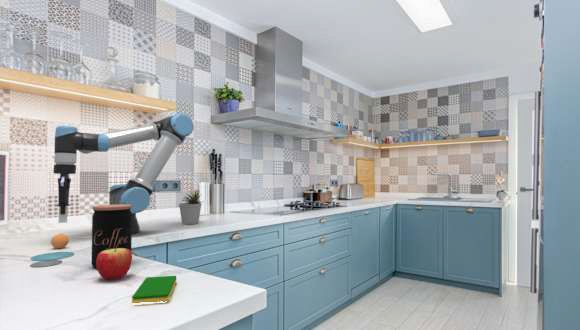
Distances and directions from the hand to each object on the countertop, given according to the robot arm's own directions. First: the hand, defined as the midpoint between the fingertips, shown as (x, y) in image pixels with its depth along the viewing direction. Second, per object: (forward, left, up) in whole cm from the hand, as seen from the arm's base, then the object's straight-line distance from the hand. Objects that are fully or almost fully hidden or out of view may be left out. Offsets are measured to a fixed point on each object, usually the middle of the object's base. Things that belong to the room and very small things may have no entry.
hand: (62, 222), depth 133 cm
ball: (-2, +9, -6) cm, 11 cm away
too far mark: (-5, +34, -9) cm, 36 cm away
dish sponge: (-39, +74, -10) cm, 84 cm away
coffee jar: (-25, +43, -9) cm, 51 cm away
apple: (-28, +58, -9) cm, 65 cm away
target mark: (-4, +23, -9) cm, 25 cm away
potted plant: (-52, -43, -9) cm, 68 cm away
